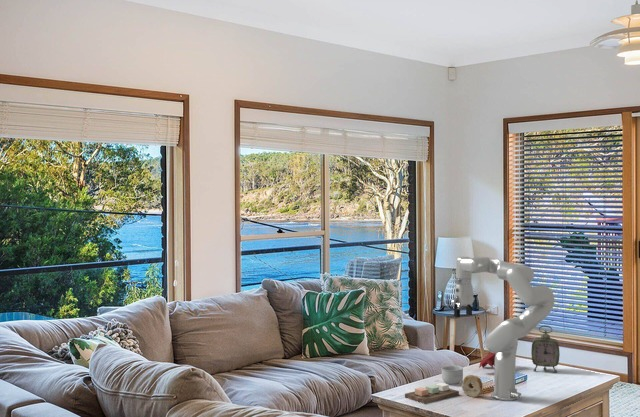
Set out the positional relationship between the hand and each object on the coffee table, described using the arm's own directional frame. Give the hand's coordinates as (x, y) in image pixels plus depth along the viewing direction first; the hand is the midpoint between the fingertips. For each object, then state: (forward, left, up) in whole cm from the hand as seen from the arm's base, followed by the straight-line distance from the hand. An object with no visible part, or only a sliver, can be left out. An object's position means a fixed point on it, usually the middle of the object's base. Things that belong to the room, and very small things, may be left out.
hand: (463, 315), depth 347 cm
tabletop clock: (-5, -62, -36) cm, 71 cm away
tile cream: (-3, +17, -33) cm, 38 cm away
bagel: (-14, +8, -36) cm, 39 cm away
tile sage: (-3, +24, -33) cm, 41 cm away
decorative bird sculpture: (+14, -41, -36) cm, 56 cm away
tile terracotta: (-3, +31, -33) cm, 46 cm away
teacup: (+8, -3, -36) cm, 37 cm away
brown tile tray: (-3, +24, -35) cm, 43 cm away
